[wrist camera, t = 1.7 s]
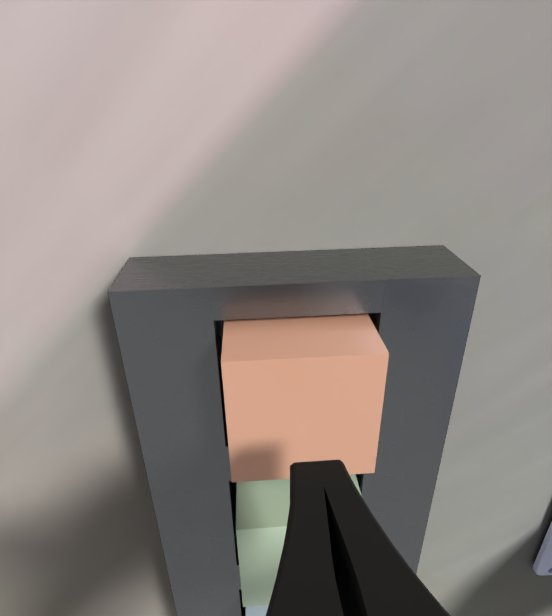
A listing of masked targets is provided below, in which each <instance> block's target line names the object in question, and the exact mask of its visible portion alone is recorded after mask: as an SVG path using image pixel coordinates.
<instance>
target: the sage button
mask: <svg viewBox="0 0 552 616" xmlns="http://www.w3.org/2000/svg"><path fill="white" fill-rule="evenodd" d="M350 477H351V479H352V481H353V482H354V484H355V486H356V488H357V489H358V491H359V493H360V495H361V492H360V488H359V485H358V481H357V478H356V474H350ZM361 496H362V495H361ZM289 507H290V479H276V480H261V481H247V482H237V491H236V536H237V547H238V558H239V569H240V580H241V592H242V603H243V607H248V606H260V605H269V602H270V599H271V595H272V592H273V588H274V584H275V580H276V576H277V572H278V567H279V563H280V558H281V554H282V549H283V545H284V540H285V534H286V528H287V521H288V515H289Z"/></svg>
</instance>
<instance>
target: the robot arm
mask: <svg viewBox="0 0 552 616" xmlns="http://www.w3.org/2000/svg"><path fill="white" fill-rule="evenodd" d="M533 569H534V571H535V572H536V574H537V575H540V576H544V575H552V522H551V524H550V526H549V529H548V531H547V534H546V536H545V538H544V541H543V543H542V546H541V548H540V551H539V553H538V555H537V558H536V560H535V563H534V565H533ZM266 616H450V615H449V614H448V613H447V611H446V610H445V609H444V608H443V607H442V606H441V605H440V603H439V602H438V601H437V600H436V599H435V598H434V596H433V595H432V594H431V593H430V592H429V590H428V589H427V588H426V587H425V586H424V584H423V583H422V582H421V581H420V579H419V578H418V577H417V576H416V574H415V573H414V572H413V570H412V569H411V568H410V567H409V565H408V564H407V563H406V561H405V560H404V559H403V557H402V556H401V555H400V553H399V552H398V550H397V549H396V548H395V546H394V545H393V543H392V542H391V541H390V539H389V538H388V536H387V535H386V533H385V532H384V530H383V529H382V527H381V526H380V525H379V523H378V522H377V520H376V519H375V517H374V516H373V514H372V512H371V511H370V509H369V508H368V506H367V505H366V503H365V501H364V500H363V498H362V496H361V495H360V493H359V491H358V489H357V488H356V486H355V484H354V482H353V481H352V479H351V477H350V475H349V473H348V471H347V469H346V467H345V465H344V463H343V462H342V461H341V460H324V461H310V462H295V463H293V464H292V465H290V507H289V515H288V521H287V528H286V534H285V540H284V545H283V549H282V554H281V558H280V563H279V567H278V572H277V576H276V580H275V584H274V588H273V592H272V595H271V599H270V602H269V606H268V609H267V613H266Z"/></svg>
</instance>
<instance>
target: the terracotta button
mask: <svg viewBox="0 0 552 616" xmlns="http://www.w3.org/2000/svg"><path fill="white" fill-rule="evenodd" d="M388 359H389V352H388V350H387V348H386V346H385V345H384V343H383V341H382V339H381V337H380V335H379V334H378V332H377V330H376V328H375V326H374V324H373V323H372V321H371V319H370V317H369V315H368V313H362V314H341V315H320V316H299V317H278V318H257V319H236V320H224V328H223V341H222V355H221V369H222V380H223V391H224V402H225V413H226V424H227V435H228V447H229V458H230V469H231V480H232V482H247V481H261V480H276V479H290V465H292V464H293V463H295V462H310V461H324V460H341V461H342V462H343V463H344V465H345V467H346V469H347V471H348V473H349V475H350V474H365V473H375V465H376V457H377V449H378V440H379V432H380V424H381V416H382V408H383V400H384V392H385V383H386V375H387V367H388Z"/></svg>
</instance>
